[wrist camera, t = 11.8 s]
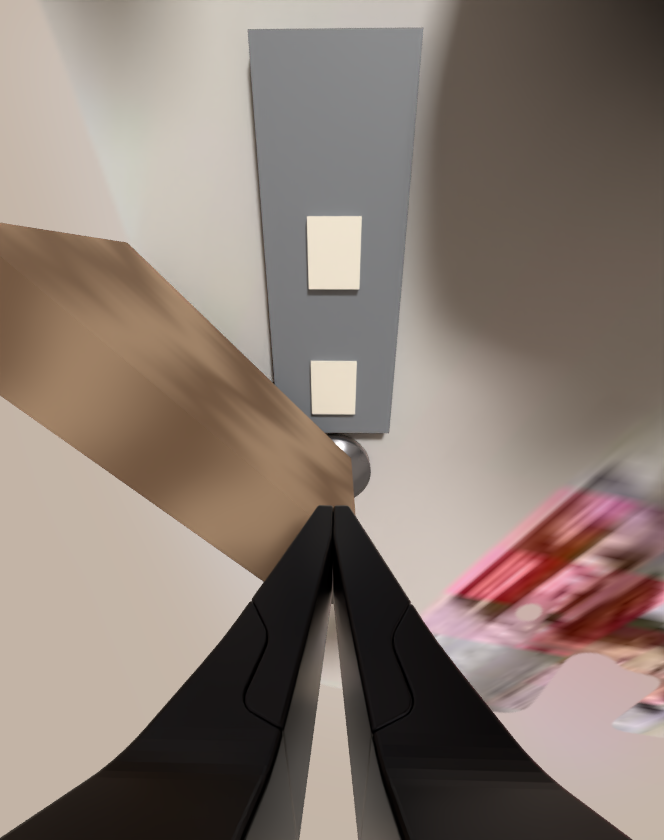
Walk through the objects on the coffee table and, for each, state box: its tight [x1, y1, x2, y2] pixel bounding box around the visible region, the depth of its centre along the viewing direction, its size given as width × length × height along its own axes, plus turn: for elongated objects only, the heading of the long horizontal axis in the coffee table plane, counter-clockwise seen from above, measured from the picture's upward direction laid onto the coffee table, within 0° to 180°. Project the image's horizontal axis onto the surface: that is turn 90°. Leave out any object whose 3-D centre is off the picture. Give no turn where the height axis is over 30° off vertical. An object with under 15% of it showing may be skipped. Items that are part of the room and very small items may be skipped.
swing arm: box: [0, 223, 355, 604], centre depth 15 cm, size 18×4×8 cm, turn 43°
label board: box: [248, 28, 423, 433], centre depth 17 cm, size 18×7×1 cm, turn 0°
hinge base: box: [327, 434, 371, 497], centre depth 22 cm, size 5×5×1 cm
